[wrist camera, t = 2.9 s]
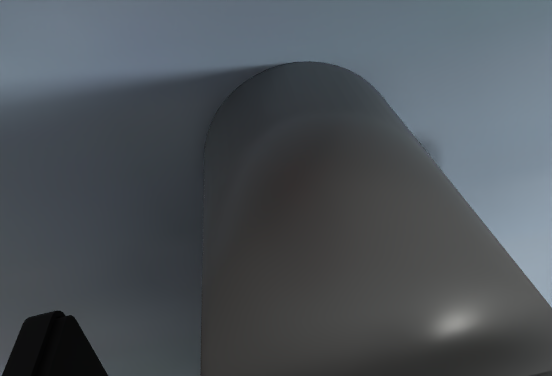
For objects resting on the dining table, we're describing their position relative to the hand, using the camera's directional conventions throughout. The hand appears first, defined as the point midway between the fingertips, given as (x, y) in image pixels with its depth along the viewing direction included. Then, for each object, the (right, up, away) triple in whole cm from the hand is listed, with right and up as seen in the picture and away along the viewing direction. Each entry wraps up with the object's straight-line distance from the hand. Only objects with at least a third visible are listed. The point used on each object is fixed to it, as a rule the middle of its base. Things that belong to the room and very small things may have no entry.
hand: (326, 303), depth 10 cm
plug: (0, +1, +2) cm, 2 cm away
